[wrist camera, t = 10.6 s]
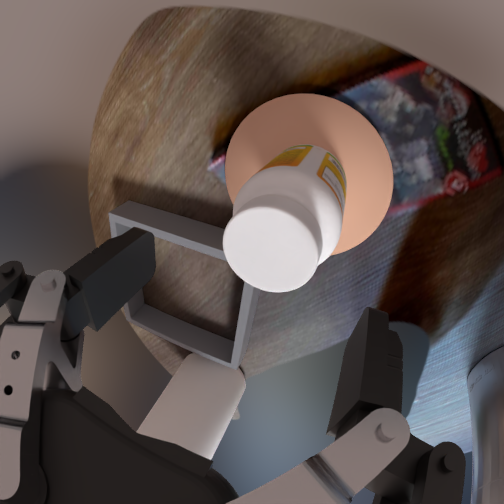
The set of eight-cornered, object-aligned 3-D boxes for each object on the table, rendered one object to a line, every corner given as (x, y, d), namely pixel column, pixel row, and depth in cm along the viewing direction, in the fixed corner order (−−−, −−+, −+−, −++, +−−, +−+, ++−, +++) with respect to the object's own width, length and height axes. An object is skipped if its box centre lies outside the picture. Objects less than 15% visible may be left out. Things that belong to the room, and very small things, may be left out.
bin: (270, 243, 24) (258, 262, 21) (246, 350, 32) (237, 370, 30) (128, 200, 27) (108, 212, 24) (140, 305, 35) (126, 320, 32)
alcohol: (232, 348, 33) (102, 570, 9) (257, 391, 36) (161, 581, 12) (177, 345, 37) (53, 523, 13) (205, 386, 40) (108, 546, 16)
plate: (412, 123, 15) (414, 124, 15) (361, 270, 22) (360, 275, 21) (240, 80, 18) (236, 80, 17) (222, 226, 25) (218, 230, 24)
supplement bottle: (260, 198, 21) (196, 273, 13) (284, 131, 18) (221, 165, 10) (328, 229, 21) (303, 324, 13) (360, 163, 17) (361, 227, 10)
